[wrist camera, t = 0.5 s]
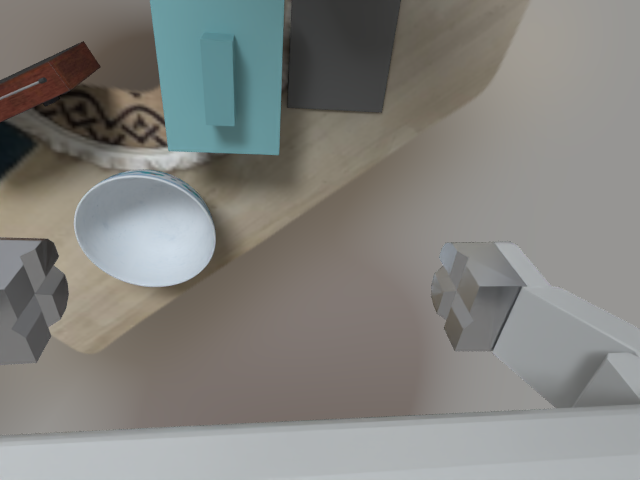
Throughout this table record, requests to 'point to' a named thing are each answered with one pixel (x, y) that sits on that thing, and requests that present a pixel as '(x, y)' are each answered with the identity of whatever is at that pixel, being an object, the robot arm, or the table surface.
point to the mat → (341, 53)
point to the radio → (45, 80)
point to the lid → (220, 74)
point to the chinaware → (145, 228)
